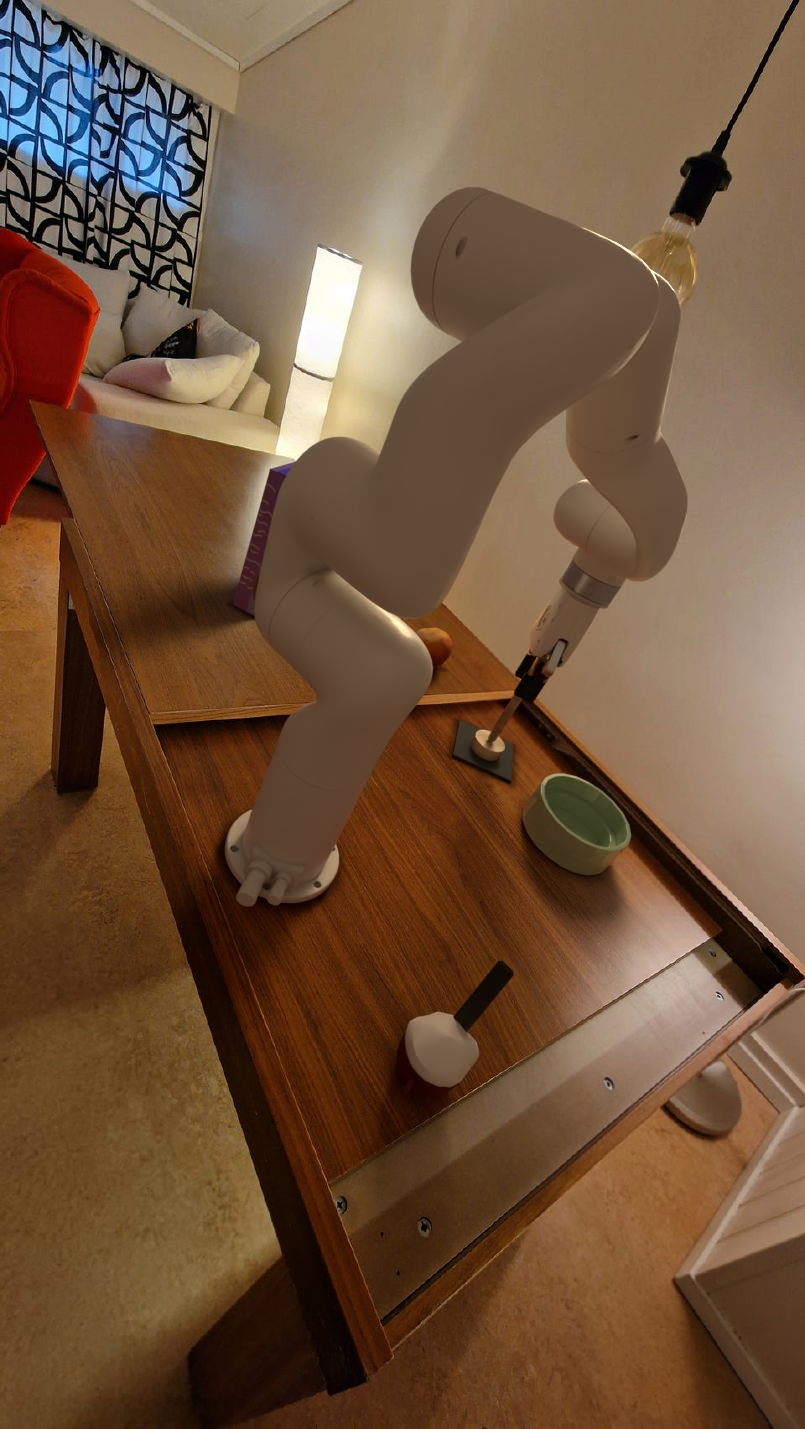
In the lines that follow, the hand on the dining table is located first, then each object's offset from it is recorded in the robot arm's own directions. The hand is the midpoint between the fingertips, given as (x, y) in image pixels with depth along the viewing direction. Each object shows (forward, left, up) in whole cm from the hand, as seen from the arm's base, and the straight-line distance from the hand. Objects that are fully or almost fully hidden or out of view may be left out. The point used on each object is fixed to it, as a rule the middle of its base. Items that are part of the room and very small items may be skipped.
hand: (523, 687), depth 93 cm
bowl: (-12, -14, -13) cm, 23 cm away
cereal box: (+17, +44, -14) cm, 49 cm away
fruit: (+19, +14, -14) cm, 27 cm away
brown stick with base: (0, 0, -13) cm, 13 cm away
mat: (0, 0, -13) cm, 13 cm away
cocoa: (-52, +2, -14) cm, 54 cm away
